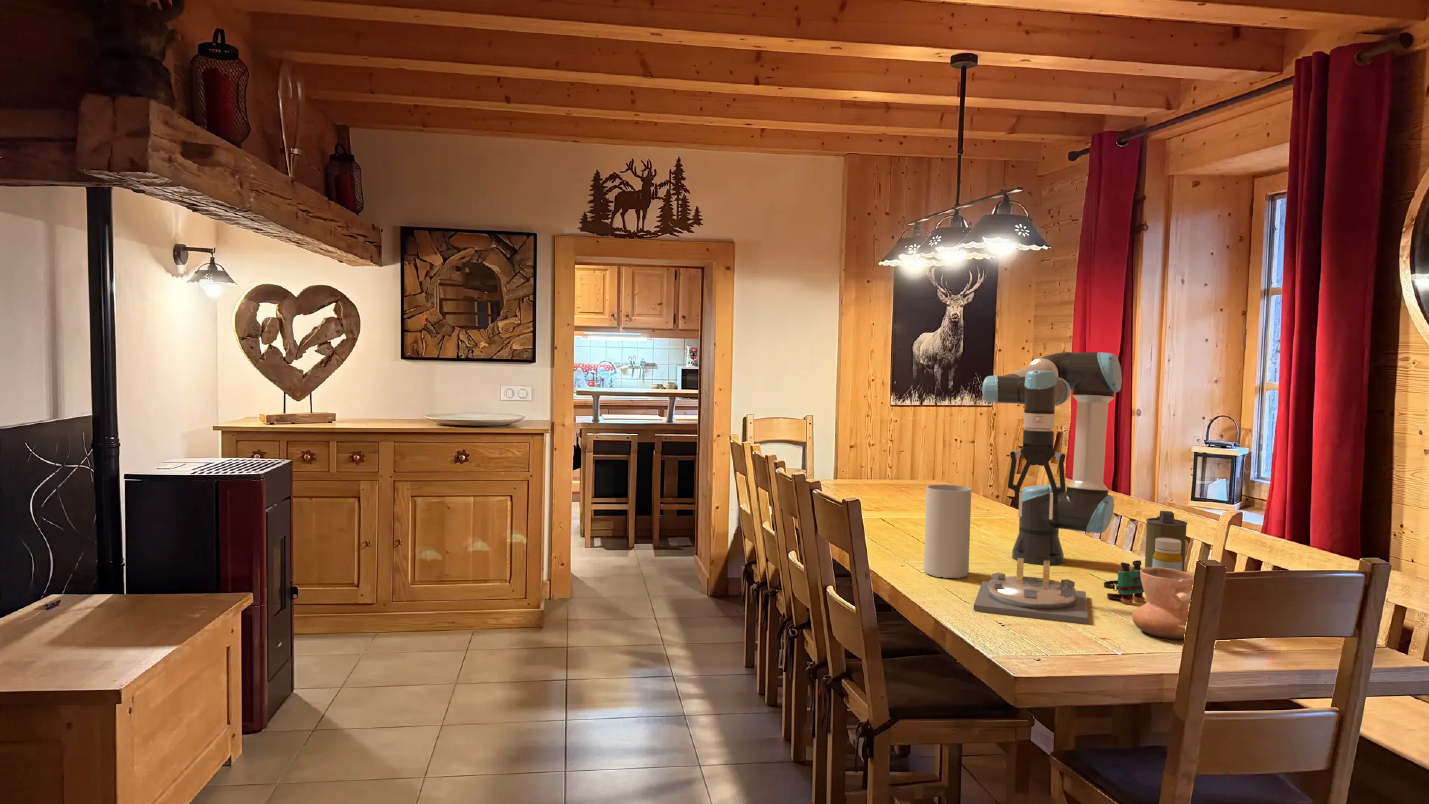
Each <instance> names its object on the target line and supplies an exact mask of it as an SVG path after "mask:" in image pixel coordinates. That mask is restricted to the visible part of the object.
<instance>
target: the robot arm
mask: <svg viewBox="0 0 1429 804" xmlns="http://www.w3.org/2000/svg"><path fill="white" fill-rule="evenodd" d="M1122 380H1123V377H1122V368H1121V364H1120V361H1119V359H1118V357H1117V356H1116V354H1114V353H1113V352H1112V353H1111V352H1101V351H1099V352H1098V351H1097V352H1095V351H1093V352H1092V351H1090V352H1088V351H1087V352H1086V351H1085V352H1084V351H1083V352H1082V351H1079V352H1076V351H1061V352H1056V353H1052V354H1048V355H1045V356H1041V357H1038V358H1036V359H1034V360H1033V361H1030V363H1029V364H1028V365H1027V366H1024V367H1023V368H1020V369H1018V370H1015V371H1013V372H1012V371H1011V372H1010V373H1008V374H1005V375H997V374H996V375H988V376H986V377H985V378H984V380H983V383H982V387H981V388H982V397H983V399H984V401H985V402H987V403H992V404H993V403H994V404H1015V405H1017V404H1018V405H1020V404H1021V405H1024V406H1023V407H1024V409H1023V428H1024V430H1023V431H1022V432H1023V433H1022V434H1023V435H1022V446H1021V449H1017V450H1011V451H1010V453H1009V454H1010V459H1011V460H1010V461H1011V462H1010V468H1009V469H1010V470H1009V475H1008V481H1007V488H1008V489H1010V490H1013V493H1014V498H1013V499H1014V500H1013V501H1014V503H1015V504H1017V505H1018V516H1017V517H1018V518H1019V519H1018V526H1019V527H1018V534H1017V537H1016V540H1015V542H1014V545H1013V548H1012V551H1011V553H1012V554H1011V557H1012V558H1013V559H1014V560H1016V561H1017V559H1018V558H1024V563H1028V564H1035V565H1044V560H1047V561H1050V565H1058V564H1063V562H1064V561H1065V557H1064V551H1063V547H1062V544H1061V540H1060V537H1059V533H1060V532H1059V531H1060V530H1059V529H1061V530H1068V531H1076V532H1083V533H1087V534H1090V533H1091V534H1102V533H1103V534H1104V532H1106V531H1107V530H1108V528H1109V527H1110V525H1111V521H1112V519H1113V514H1114V510H1115V498H1114V496H1112V495H1110V494H1109V488H1108V487H1107V486H1106V485H1105V483H1104V474H1105V461H1106V460H1105V459H1106V442H1107V429H1108V428H1107V426H1108V412H1109V411H1108V410H1109V403H1110V402H1111V401H1113V400H1114V399H1115V393H1119V392H1120V391H1121V389H1122V384H1123V381H1122ZM1071 391H1072V397H1073V398H1074V400H1075V401H1076V402H1077V403H1076V404H1077V405H1076V419H1075V420H1076V421H1075V436H1074V450H1073V451H1074V453H1073V467H1072V468H1073V469H1072V480H1071V481H1070V482H1069V483H1067V484H1066V476H1065V466H1064V465H1065V464H1064V463H1065V460H1066V453H1064V452H1062V453H1061V452H1058V451H1056V450H1055V447H1054V442H1055V439H1054V437H1055V432H1054V430H1053V429H1055V419H1056V417H1055V416H1056V415H1055V411H1056V410H1055V409H1056V407H1057V406H1059V405H1062V404H1064V403H1066V402H1067V401H1068V400H1069V398H1070V397H1071ZM1020 455H1021V456H1022V457H1023V458H1024V460H1025V461H1026V462H1025V464H1024V467H1023V469H1022V471H1021V474H1020V476H1019V478H1018V480H1017V482H1016V484H1014V483H1015V482H1014V481H1015V474H1016V470H1017V469H1016V467H1017V461H1018V459H1019V458H1020ZM1054 457H1055V460H1056V461H1057V462H1058V473H1059V474H1058V475H1059V483H1060V484H1057V483H1056V480H1055V476H1054V475H1053V472H1052V467H1051V466H1050V463H1049V462H1050V461H1051V460H1052V459H1053V458H1054ZM1031 466H1040V467H1044V470H1045V473H1046V475H1047V479H1048V481H1049V484H1037V485H1029V486H1025V487H1023V488H1022V485H1023V483H1024V482H1025V481H1024V480H1025V479H1026V476H1027V474H1028V471H1029V469H1030V467H1031ZM1021 488H1022V489H1021Z"/></svg>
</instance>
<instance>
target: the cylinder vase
mask: <svg viewBox="0 0 1429 804" xmlns="http://www.w3.org/2000/svg"><path fill="white" fill-rule="evenodd" d="M971 509H972V488H970V487H968V486H963V485H956V484H930V485H926V487H925V518H924V519H925V520H924V526H925V527H924V550H923V551H924V552H923V553H924V554H923V571H924V573H925V574H926V575H928V574H929V575H928V576H930V575H932V577H934V576H935V577H934V578H938V577H943V578H942V579H947V578H957V579H963V578H966V577H967V576H968V575H969V568H970V567H969V566H970V540H971V539H970V536H971V516H972V515H971Z"/></svg>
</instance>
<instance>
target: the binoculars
mask: <svg viewBox="0 0 1429 804" xmlns="http://www.w3.org/2000/svg"><path fill="white" fill-rule="evenodd" d="M1132 565H1133V568H1131V569H1130V567H1131V563H1126V562H1123V561H1122V562H1120V566H1121V570H1118V572H1117V580H1109V581H1108V580H1107V581H1104V582H1103V588H1105V589H1108V590H1113V592H1117V593H1110V592H1109V593H1107V594H1106V595H1107V596H1106V597H1107V598H1108V599H1118V600H1120V602H1121V603H1123V604H1126V605H1133V603H1134V602H1133V601H1135V602H1139V603H1145V601H1146V599H1145V596H1144V594H1143V593H1145V592H1144V589H1143V586H1142V582H1141V575H1140V570H1141V569H1142V568H1141V565H1142V560H1140V559H1139V560H1138V559H1137V560H1134V561H1132Z"/></svg>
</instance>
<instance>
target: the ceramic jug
mask: <svg viewBox="0 0 1429 804" xmlns="http://www.w3.org/2000/svg"><path fill="white" fill-rule="evenodd" d="M1140 575H1141V582H1142V586H1143V589H1144V592H1143V593H1144V595H1145V596H1144V597H1145V601H1146V603H1144V604H1142V605H1141V606H1138V607H1137V608H1136V609H1135V610H1133V613H1132V615H1131V618H1132V622H1133V624H1134V625H1135V626H1136V627H1137V628H1138V629H1139V630H1140V631H1143V632H1145V633H1146V634H1149V635H1152V636H1154V637H1158V638H1163V639H1164V638H1165V639H1169V638H1170V639H1171V640H1173V639H1174V640H1182V639H1183V638H1184V634H1185V626H1186V622H1187V618H1188V609H1190V608H1189V606H1190V604H1191V602H1190V600H1191V591H1192V585H1193V580H1194V575H1195V574H1194V573H1190V572H1188V571H1185V570H1184V571H1180V570H1175V569H1169V568H1162V567H1152V568H1148V567H1146V568H1145V567H1143V568H1141V570H1140ZM1191 601H1192V600H1191ZM1184 639H1185V638H1184Z"/></svg>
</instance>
